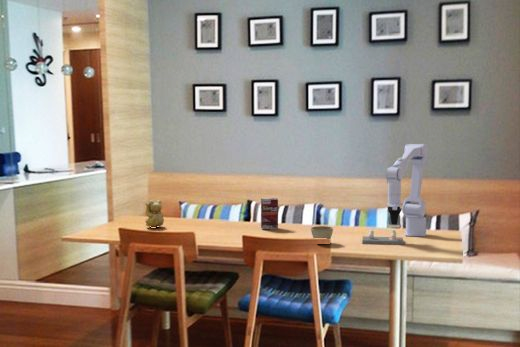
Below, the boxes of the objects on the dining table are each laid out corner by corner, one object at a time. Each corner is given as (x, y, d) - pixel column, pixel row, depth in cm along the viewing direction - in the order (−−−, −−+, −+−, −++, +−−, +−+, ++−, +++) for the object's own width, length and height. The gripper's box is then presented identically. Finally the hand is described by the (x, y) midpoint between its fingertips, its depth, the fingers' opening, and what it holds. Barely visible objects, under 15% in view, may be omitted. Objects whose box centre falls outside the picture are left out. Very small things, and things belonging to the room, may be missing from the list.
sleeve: (388, 225, 256) (388, 214, 256) (399, 225, 255) (399, 214, 255) (388, 227, 251) (388, 216, 251) (399, 227, 250) (399, 216, 250)
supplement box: (262, 230, 288) (261, 199, 286) (260, 228, 292) (260, 198, 291) (278, 229, 289) (278, 199, 287) (277, 227, 293) (276, 197, 292)
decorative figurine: (161, 225, 303) (160, 198, 302) (166, 228, 296) (166, 200, 295) (144, 227, 299) (143, 199, 297) (149, 229, 292) (148, 201, 290)
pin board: (402, 240, 258) (402, 228, 257) (403, 244, 249) (403, 232, 248) (362, 239, 261) (362, 227, 261) (362, 243, 252) (362, 231, 252)
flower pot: (309, 241, 258) (309, 226, 257) (330, 241, 259) (330, 225, 258) (313, 246, 248) (313, 230, 247) (335, 245, 249) (335, 229, 248)
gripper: (404, 195, 244) (404, 226, 245) (402, 191, 258) (402, 220, 259) (387, 195, 245) (387, 226, 247) (386, 191, 260) (386, 220, 261)
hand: (394, 223), depth 253 cm, fingers closed on sleeve, 5 cm apart
